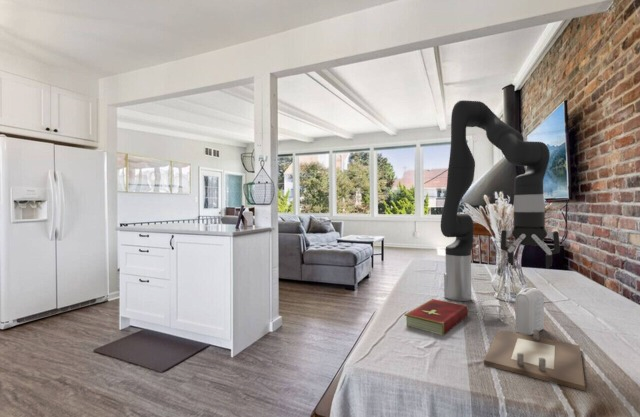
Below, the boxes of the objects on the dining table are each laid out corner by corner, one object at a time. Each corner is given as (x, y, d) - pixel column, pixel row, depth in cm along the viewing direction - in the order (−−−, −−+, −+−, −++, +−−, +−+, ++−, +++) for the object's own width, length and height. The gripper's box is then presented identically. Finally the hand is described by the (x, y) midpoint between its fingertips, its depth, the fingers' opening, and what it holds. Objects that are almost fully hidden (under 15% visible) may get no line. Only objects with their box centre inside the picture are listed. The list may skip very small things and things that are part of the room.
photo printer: (530, 324, 97) (529, 284, 97) (546, 329, 93) (545, 287, 93) (513, 332, 91) (512, 289, 91) (529, 337, 88) (529, 293, 88)
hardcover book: (468, 317, 105) (468, 304, 105) (443, 337, 90) (443, 322, 90) (432, 309, 113) (432, 297, 113) (404, 327, 98) (404, 313, 98)
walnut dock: (483, 364, 74) (483, 349, 74) (498, 332, 91) (498, 320, 91) (584, 390, 63) (584, 373, 63) (579, 349, 80) (579, 335, 80)
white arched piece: (504, 325, 97) (504, 309, 97) (474, 319, 102) (474, 304, 102) (512, 315, 106) (512, 300, 105) (485, 310, 111) (484, 296, 111)
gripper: (498, 210, 93) (499, 266, 94) (559, 210, 85) (560, 271, 85) (502, 210, 99) (503, 262, 100) (559, 210, 91) (560, 266, 91)
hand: (529, 266), depth 92 cm, fingers open, 8 cm apart
